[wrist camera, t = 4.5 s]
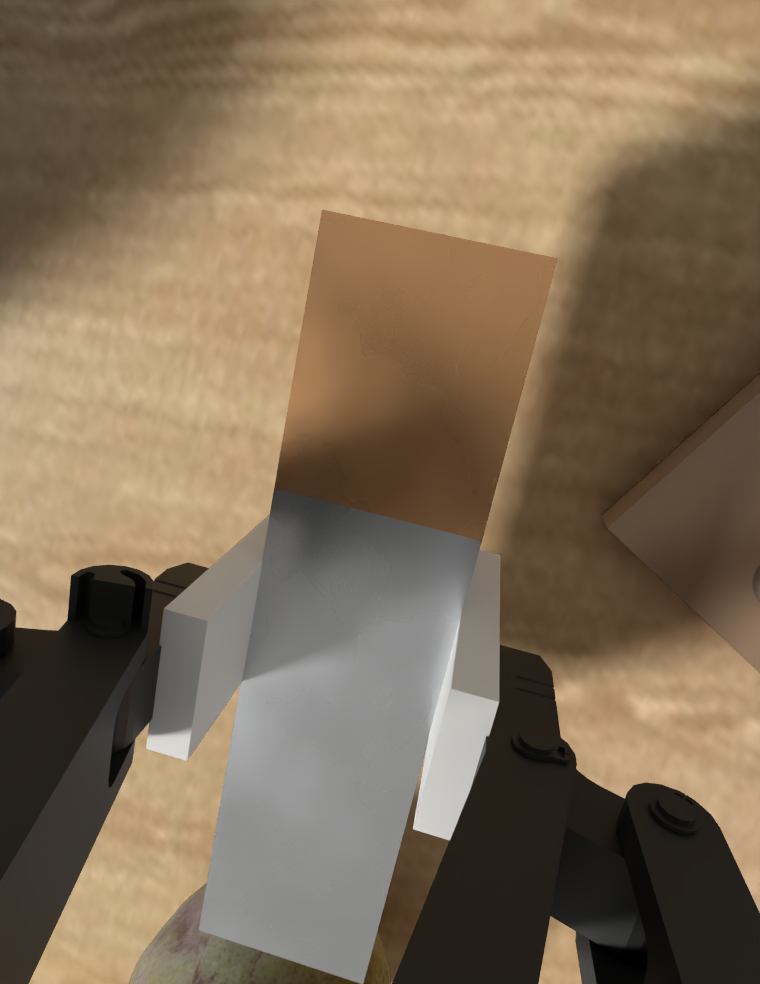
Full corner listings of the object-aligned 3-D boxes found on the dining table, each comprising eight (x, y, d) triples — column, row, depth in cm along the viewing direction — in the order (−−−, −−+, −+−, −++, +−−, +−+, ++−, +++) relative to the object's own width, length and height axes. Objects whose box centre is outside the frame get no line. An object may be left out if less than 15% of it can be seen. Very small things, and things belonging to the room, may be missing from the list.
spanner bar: (397, 815, 21) (362, 984, 16) (273, 778, 21) (198, 930, 16) (539, 276, 16) (557, 258, 11) (377, 241, 17) (321, 209, 12)
